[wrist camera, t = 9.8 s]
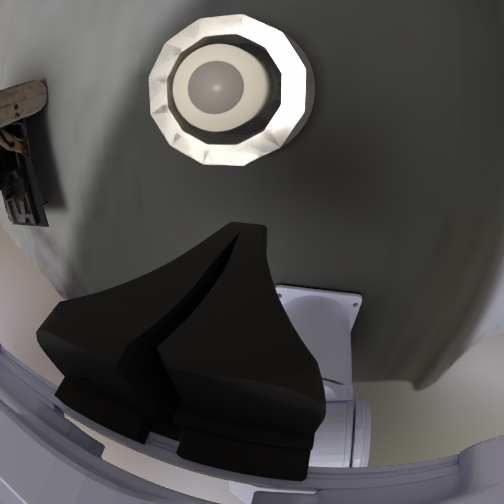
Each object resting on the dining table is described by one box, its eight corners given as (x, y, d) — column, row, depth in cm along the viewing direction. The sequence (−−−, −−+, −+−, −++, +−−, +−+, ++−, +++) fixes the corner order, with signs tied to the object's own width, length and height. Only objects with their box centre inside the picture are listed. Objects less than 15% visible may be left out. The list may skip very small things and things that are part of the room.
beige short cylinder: (273, 123, 17) (262, 133, 13) (201, 122, 17) (173, 133, 14) (274, 51, 14) (263, 40, 10) (199, 55, 15) (169, 49, 11)
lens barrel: (311, 161, 18) (310, 180, 15) (176, 155, 20) (149, 172, 16) (316, 23, 12) (316, 6, 9) (171, 31, 14) (140, 24, 11)
